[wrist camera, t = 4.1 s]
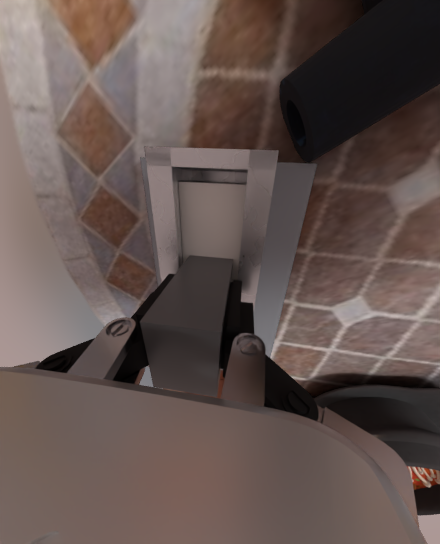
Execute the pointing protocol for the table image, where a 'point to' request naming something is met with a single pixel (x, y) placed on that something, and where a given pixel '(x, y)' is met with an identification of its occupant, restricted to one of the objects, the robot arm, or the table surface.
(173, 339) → the sliding latch bolt
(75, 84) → the table surface
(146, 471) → the robot arm
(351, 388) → the casserole
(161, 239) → the outer sleeve
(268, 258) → the base board
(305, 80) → the pipe connector
